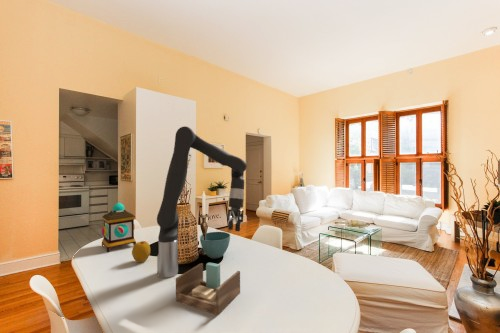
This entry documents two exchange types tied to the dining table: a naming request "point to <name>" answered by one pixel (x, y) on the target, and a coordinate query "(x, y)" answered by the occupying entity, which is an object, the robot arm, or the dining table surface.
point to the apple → (141, 251)
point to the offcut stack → (204, 293)
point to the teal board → (212, 275)
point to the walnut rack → (195, 278)
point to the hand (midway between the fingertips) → (233, 230)
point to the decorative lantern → (118, 227)
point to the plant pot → (215, 244)
